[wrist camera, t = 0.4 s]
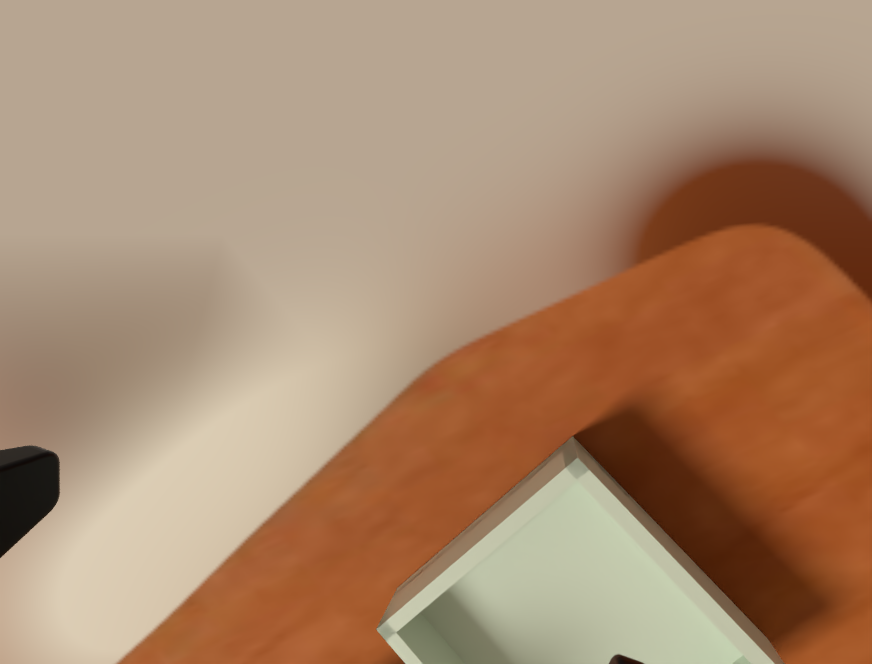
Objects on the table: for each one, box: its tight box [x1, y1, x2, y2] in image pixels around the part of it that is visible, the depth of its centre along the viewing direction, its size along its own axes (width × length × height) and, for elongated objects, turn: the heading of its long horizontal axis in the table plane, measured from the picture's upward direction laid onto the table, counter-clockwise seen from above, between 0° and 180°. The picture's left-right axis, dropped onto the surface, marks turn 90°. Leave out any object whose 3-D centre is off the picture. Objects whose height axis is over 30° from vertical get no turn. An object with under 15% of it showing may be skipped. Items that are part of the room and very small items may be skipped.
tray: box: [376, 436, 784, 664], centre depth 20 cm, size 11×11×3 cm
